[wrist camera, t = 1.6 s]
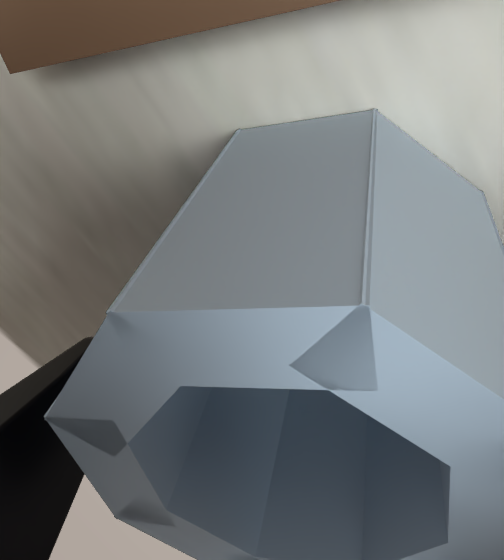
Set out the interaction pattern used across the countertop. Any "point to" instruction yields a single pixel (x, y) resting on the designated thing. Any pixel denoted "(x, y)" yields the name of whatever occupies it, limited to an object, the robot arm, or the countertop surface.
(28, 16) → the roll holder
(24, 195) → the countertop surface
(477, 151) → the countertop surface
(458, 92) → the countertop surface
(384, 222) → the blue roll
